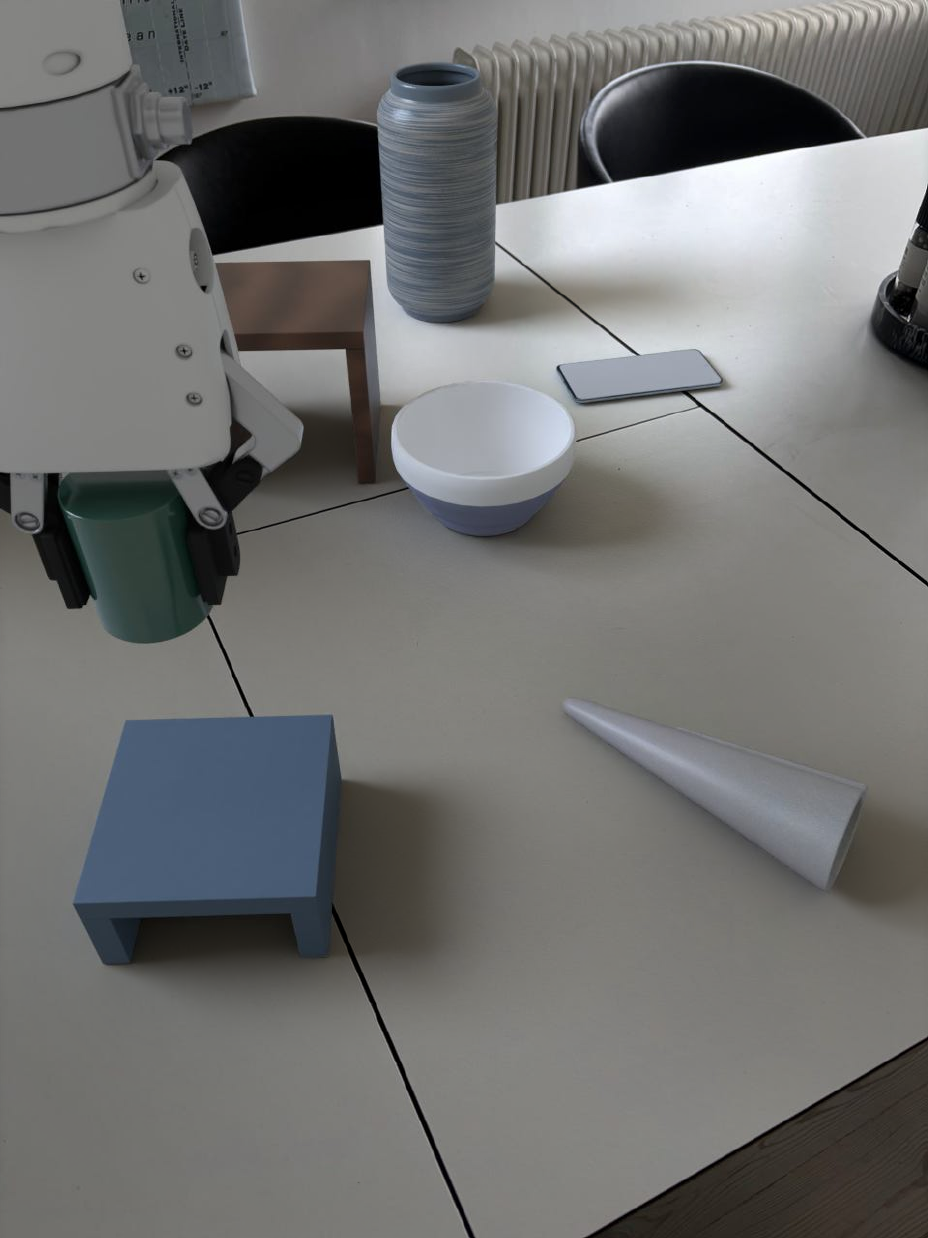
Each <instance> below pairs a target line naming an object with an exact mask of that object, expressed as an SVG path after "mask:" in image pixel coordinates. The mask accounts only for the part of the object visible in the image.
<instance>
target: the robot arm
mask: <svg viewBox="0 0 928 1238" xmlns="http://www.w3.org/2000/svg"><path fill="white" fill-rule="evenodd" d="M126 29H127V28H126V24H125V20H124V15H123V10H122V5H121V0H0V510H2V511H4V512H5V513H7V514H8V515H10V520H11V523H12V525H13V527H14V528H16V529H17V530H18V531H19V532H22V533H24V534H26V535H31V536H32V539H33V541H34V545H35V547H36V549H37V552H38V555H39V558H40V560H41V562H42V565H43V568H44V571H45V574H46V576H47V578H48V579H49V581H52V582H54V581H56V583H57V586H58V589H59V591H60V594H61V596H62V599H63V602H64V605H65V607H66V609H68V610H82V609H83V607H84V606H87V605H88V602H89V599H90V597H91V595H90V592H89V589H88V586H87V583H86V580H85V578H84V575H83V572H82V569H81V566H80V563H79V560H78V557H77V555H76V552H75V549H74V546H73V543H72V540H71V537H70V535H69V532H68V529H67V526H66V523H65V520H64V517H63V514H62V512H61V509H60V506H59V503H58V499H57V493H58V488H59V485H60V483H61V482H62V480H63V474H68V473H76V472H118V471H155V470H166V472H167V473H168V475H169V477H170V478H171V480H172V482H173V483H174V485H175V486H176V488H177V490H178V491H179V493H180V495H181V496H182V498H183V499H184V501H185V503H186V504H187V506H188V508H189V509H190V511H191V514H192V516H191V519H190V522H189V526H188V529H187V541H188V545H189V549H190V553H191V557H192V561H193V565H194V569H195V573H196V577H197V581H198V585H199V589H200V593H201V597H202V601H203V602H207V605H213V606H221V605H222V603H223V598H224V596H225V595H224V594H225V590H226V585H227V581H228V577H237V576H238V575H239V571H240V568H241V549H240V544H239V538H238V533H237V529H236V523H235V519H234V514H233V511H234V510H235V509H236V508H237V507H238V506H239V505H240V504H241V503H242V502H243V501H244V500H245V499H246V498H247V497H248V496H249V495H250V494H251V493H252V492H253V491H254V490H255V489H256V488H257V487H258V486H259V485H260V484H261V480H262V479H263V478H264V477H266V476H267V475H268V474H269V473H273V472H274V471H275V470H276V469H278V468H279V467H280V466H282V465H283V464H284V463H285V462H287V460H289V459H290V458H292V457H293V456H294V455H295V454H297V453H298V452H299V450H301V445H302V441H303V440H302V439H303V433H304V428H305V427H304V424H303V422H302V421H301V419H300V418H299V417H297V416H296V415H295V414H294V412H292V411H291V410H290V409H289V408H287V407H286V406H285V405H284V404H283V403H282V402H281V401H280V400H279V399H278V398H277V397H276V396H274V395H273V394H272V393H271V391H269V390H268V389H267V388H266V387H264V385H263V384H261V383H260V382H259V381H258V380H257V379H256V378H255V377H254V376H253V375H251V374H250V373H249V372H248V371H247V370H246V369H245V368H244V367H242V362H241V358H240V352H239V351H238V349H237V344H236V340H235V336H234V332H233V328H232V324H231V320H230V316H229V313H228V309H227V305H226V301H225V297H224V293H223V290H222V286H221V283H220V279H219V276H218V272H217V269H216V265H215V263H216V262H215V259H214V256H213V253H212V250H211V246H210V243H209V239H208V236H207V233H206V231H205V227H204V224H203V222H202V219H201V215H200V213H199V211H198V209H197V206H196V202H195V200H194V198H193V195H192V192H191V190H190V187H189V185H188V182H187V181H186V177H185V176H184V174H183V172H182V169H181V168H180V166H179V165H177V164H176V163H174V162H173V161H172V162H171V161H168V160H160V159H159V160H157V159H155V157H156V156H157V154H158V153H159V151H161V150H169V148H170V146H184V145H185V146H188V145H189V146H190V145H191V144H192V143H193V138H194V135H193V131H194V130H193V120H192V119H193V118H192V112H191V108H190V105H189V102H188V100H187V98H186V97H185V96H163V94H162V93H161V92H160V91H151V90H150V87H149V85H148V82H144V79H143V75H142V71H141V65H140V64H133V58H132V54H131V49H130V43H129V38H128V33H127V30H126ZM154 159H155V160H154ZM238 352H239V353H238ZM231 416H232V417H233V418H234V419H235V420H236V421H238V422H239V423H240V424H241V425H242V426H243V429H245V430H246V431H248V432H249V433H250V434H251V436H250V438H249V439H248V440H244V441H241V442H239V444H238V445H237V446H236V447H235V448H234V449H233V451H232V452H231V453H230V454H229V455H228V453H229V451H230V447H231V436H230V426H231ZM227 455H228V456H227ZM226 456H227V457H226ZM225 457H226V458H225Z"/></svg>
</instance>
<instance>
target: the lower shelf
mask: <svg viewBox="0 0 928 1238" xmlns="http://www.w3.org/2000/svg"><path fill="white" fill-rule="evenodd" d="M119 737H120V738H119V741H118V744H117V748H116V752H115V756H114V758H113V761H112V766H111V769H110V772H109V776H108V779H107V783H106V786H105V790H104V793H103V795H102V800H101V803H100V806H99V811H98V814H97V817H96V820H95V824H94V828H93V831H92V834H91V838H90V842H89V845H88V849H87V852H86V855H85V858H84V861H83V862H84V863H83V866H82V869H81V873H80V875H79V880H78V883H77V886H76V890H75V893H74V896H73V900H72V905H73V908H74V910H75V912H76V914H77V915H78V918H79V920H80V921H81V924H82V926H83V928H84V929H85V931H86V934H87V936H88V937H89V940H90V941H91V943H92V945H93V947H94V949H95V952H96V953H97V955H98V957H99V959H100V962H101V963H102V964H103V965H112V964H117V965H118V964H131V962H132V959H133V955H134V951H135V945H136V941H137V938H138V933H139V928H140V925H141V920H142V918H168V917H169V918H170V917H200V916H201V917H202V916H204V917H205V916H237V915H241V916H242V915H269V914H272V915H273V914H290V919H291V922H292V927H293V930H294V936H295V939H296V944H297V949H298V952H299V956H300V958H302V959H306V958H328V957H329V954H330V953H329V952H330V942H331V941H330V939H331V926H332V913H333V901H334V899H333V898H334V886H335V875H336V874H335V873H336V872H335V871H336V861H337V848H338V847H337V845H338V831H339V820H340V808H341V807H340V806H341V796H342V795H341V794H342V781H343V780H342V779H343V778H342V770H341V764H340V757H339V751H338V744H337V737H336V729H335V722H334V716H333V714H309V715H307V714H306V715H271V716H270V715H267V716H236V717H235V716H233V717H231V716H230V717H197V718H195V717H191V718H190V717H189V718H157V719H156V718H155V719H153V718H152V719H151V718H150V719H125V720H124V723H123V727H122V731H121V734H120V736H119Z"/></svg>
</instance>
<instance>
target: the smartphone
mask: <svg viewBox="0 0 928 1238" xmlns="http://www.w3.org/2000/svg"><path fill="white" fill-rule="evenodd" d="M555 370H556V373H557V374H558V376H559V377H560V380H561V382H562V384H563V385H564V386H565V388H566V390H567V392H568V393H569V395H570V397H571V399H572V400H573V401H574V402H575V403H577V404H585V403H594V402H602V401H611V400H618V399H626V398H635V397H642V396H650V395H658V394H666V393H676V392H683V391H691V390H698V389H709V388H715V387H720V386H722V385H723V383H724V379H723V378H722V376H721V375H720V374H719V372H718V371H717V370H716V368H714V366H713V365H712V364H711V362H710V361H708V359H707V357H705V355H704V354H703V353H702V352H701V351H700V350H699V349H697V348H689V349H681V350H672V351H671V350H670V351H664V352H655V353H646V354H638V355H630V356H629V355H627V356H622V357H621V356H620V357H611V358H603V359H596V360H585V361H579V362H578V361H577V362H569V363H562V364H558V365H556V367H555Z"/></svg>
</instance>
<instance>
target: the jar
mask: <svg viewBox="0 0 928 1238" xmlns="http://www.w3.org/2000/svg"><path fill="white" fill-rule="evenodd" d="M57 499H58V503H59V506H60V509H61V512H62V514H63V517H64V520H65V523H66V526H67V529H68V532H69V535H70V537H71V540H72V543H73V546H74V549H75V552H76V555H77V557H78V560H79V563H80V566H81V569H82V572H83V575H84V578H85V580H86V583H87V586H88V589H89V592H90V597H91V601H92V603H93V607H94V609H95V612H96V615H97V618H98V620H99V623H100V625H101V627H102V628H103V629H104V631H106V632H107V633H108V634H109V635H110V636H112V637H114V638H115V639H117V640H120V641H123V642H125V643H129V644H130V643H131V644H139V645H141V644H142V645H144V644H145V645H146V644H147V645H148V644H158V643H164V642H168V641H170V640H174V639H177V638H179V637H183V636H184V635H186V634H188V633H189V632H192V630H194V629H196V628H197V627H198V626H200V625H201V624H202V623H203V622H204V621H205V620H206V619H207V618H208V616H209V615H210V613H211V612H212V610H213V608H214V605H207V602H203V601H202V597H201V593H200V589H199V585H198V581H197V577H196V573H195V569H194V565H193V561H192V557H191V553H190V549H189V545H188V541H187V529H188V526H189V522H190V519H191V516H192V514H191V511H190V509H189V508H188V506H187V504H186V503H185V501H184V499H183V498H182V496H181V495H180V493H179V491H178V490H177V488H176V486H175V485H174V483H173V482H172V480H171V478H170V477H169V475H168V473H167V472H166V470H155V471H118V472H76V473H66V475H65V476H64V477H63V478H62V482H61V483H60V485H59V488H58V493H57Z"/></svg>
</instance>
